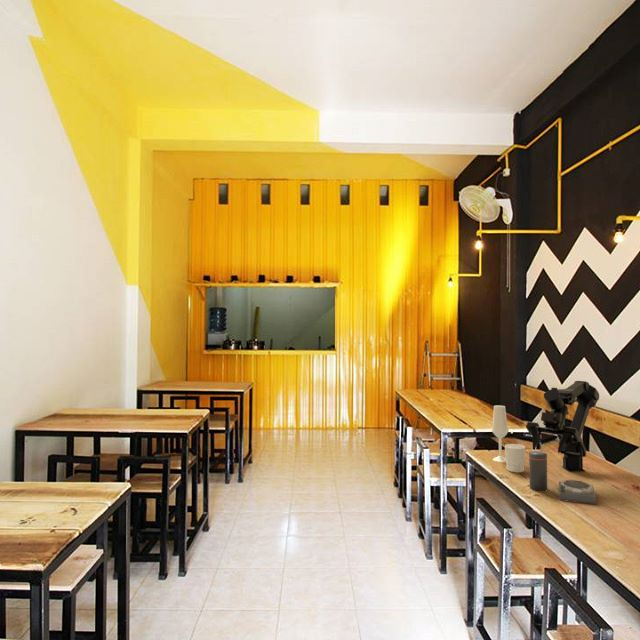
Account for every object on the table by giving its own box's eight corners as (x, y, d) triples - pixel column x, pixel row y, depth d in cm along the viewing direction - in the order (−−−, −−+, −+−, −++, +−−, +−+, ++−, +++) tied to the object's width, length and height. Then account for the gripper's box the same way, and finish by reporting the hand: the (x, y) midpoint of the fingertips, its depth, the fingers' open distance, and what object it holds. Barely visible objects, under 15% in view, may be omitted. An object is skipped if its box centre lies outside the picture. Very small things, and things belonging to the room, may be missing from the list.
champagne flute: (506, 462, 216) (505, 408, 217) (490, 460, 220) (489, 406, 220) (510, 459, 222) (509, 405, 222) (494, 457, 226) (493, 404, 226)
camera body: (559, 488, 183) (558, 477, 183) (592, 492, 178) (592, 481, 178) (559, 500, 171) (559, 488, 171) (595, 504, 167) (595, 492, 167)
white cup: (528, 472, 202) (528, 448, 202) (509, 473, 202) (508, 448, 202) (521, 467, 210) (520, 443, 210) (502, 467, 210) (502, 443, 210)
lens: (543, 485, 186) (542, 450, 186) (550, 491, 180) (549, 455, 180) (527, 486, 186) (526, 451, 186) (533, 491, 180) (533, 455, 180)
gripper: (527, 401, 199) (515, 433, 191) (576, 406, 185) (565, 441, 177) (536, 418, 204) (524, 450, 196) (584, 424, 190) (574, 459, 183)
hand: (546, 449), depth 188 cm, fingers open, 9 cm apart
